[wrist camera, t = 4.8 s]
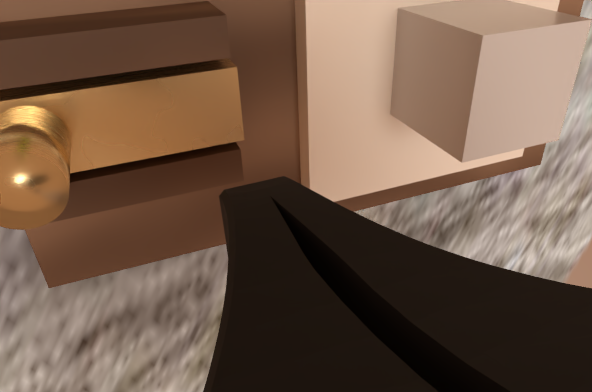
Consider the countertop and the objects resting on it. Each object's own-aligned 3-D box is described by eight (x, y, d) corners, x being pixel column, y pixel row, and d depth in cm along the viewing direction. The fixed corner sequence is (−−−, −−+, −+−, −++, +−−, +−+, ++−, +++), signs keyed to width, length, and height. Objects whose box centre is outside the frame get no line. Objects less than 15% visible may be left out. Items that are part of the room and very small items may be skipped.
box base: (519, 152, 27) (579, 186, 23) (50, 265, 20) (45, 334, 17) (593, -162, 19) (696, -175, 16) (-116, -157, 12) (-184, -179, 9)
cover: (507, 147, 24) (603, 202, 20) (301, 195, 21) (360, 274, 16) (565, -117, 18) (721, -123, 14) (290, -106, 15) (378, -109, 11)
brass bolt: (235, 126, 17) (274, 182, 13) (11, 166, 15) (-10, 245, 11) (227, 57, 15) (268, 99, 12) (-19, 91, 13) (-53, 153, 10)
